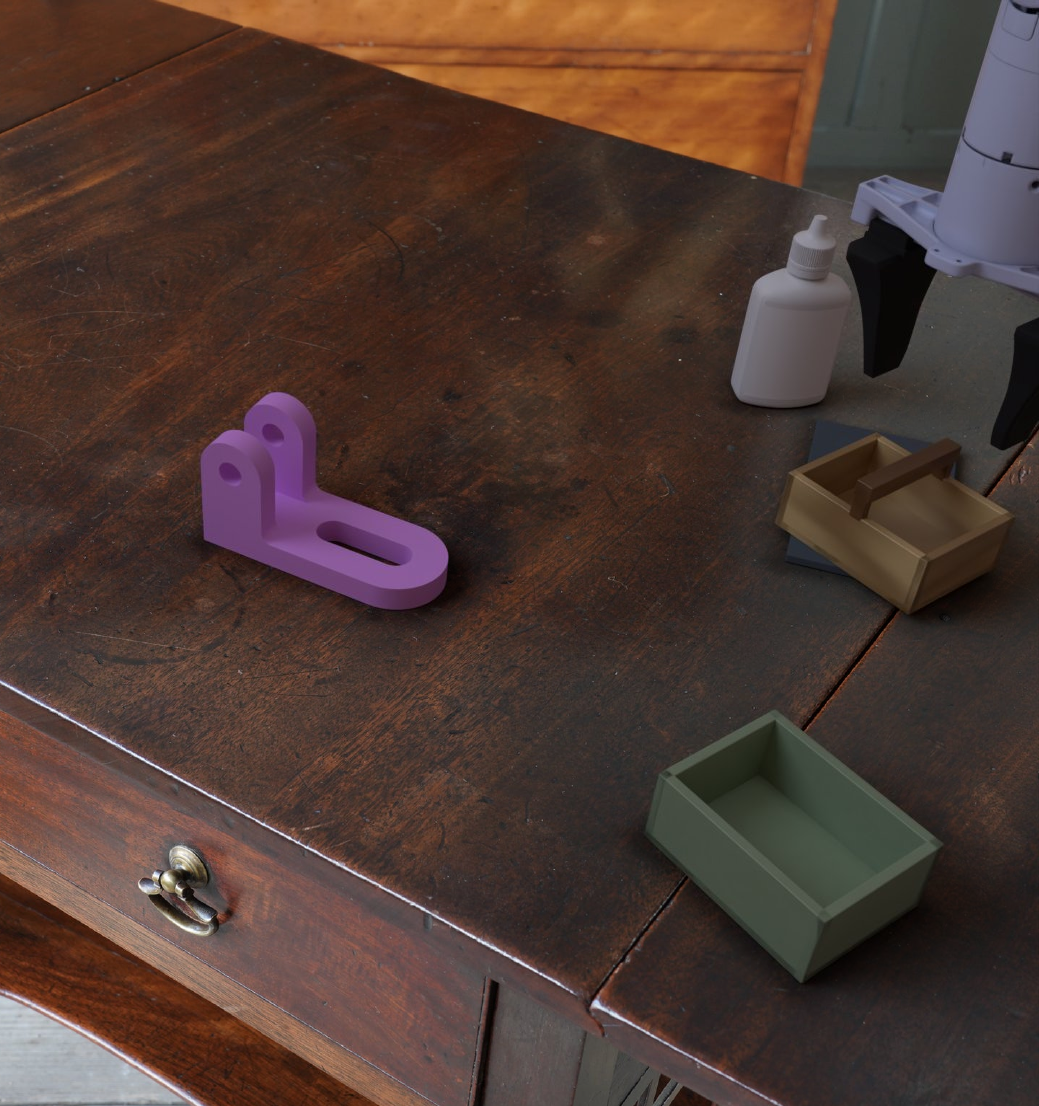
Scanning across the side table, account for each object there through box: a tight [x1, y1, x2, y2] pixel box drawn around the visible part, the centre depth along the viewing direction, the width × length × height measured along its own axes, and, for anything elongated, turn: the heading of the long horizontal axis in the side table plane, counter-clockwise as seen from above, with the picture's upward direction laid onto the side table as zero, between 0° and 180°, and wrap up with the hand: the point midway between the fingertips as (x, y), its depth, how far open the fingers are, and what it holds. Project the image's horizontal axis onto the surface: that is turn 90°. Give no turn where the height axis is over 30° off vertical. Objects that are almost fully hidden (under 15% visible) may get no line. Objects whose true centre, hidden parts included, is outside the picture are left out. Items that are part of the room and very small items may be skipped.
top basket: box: [774, 431, 1017, 616], centre depth 77 cm, size 9×7×6 cm
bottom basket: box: [643, 708, 945, 984], centre depth 61 cm, size 9×7×4 cm
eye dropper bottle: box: [730, 214, 852, 409], centre depth 87 cm, size 4×6×12 cm
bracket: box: [200, 391, 449, 611], centre depth 76 cm, size 13×6×7 cm, turn 59°
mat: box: [784, 418, 957, 599], centre depth 82 cm, size 14×8×1 cm, turn 158°
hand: (942, 404), depth 72 cm, fingers open, 7 cm apart
